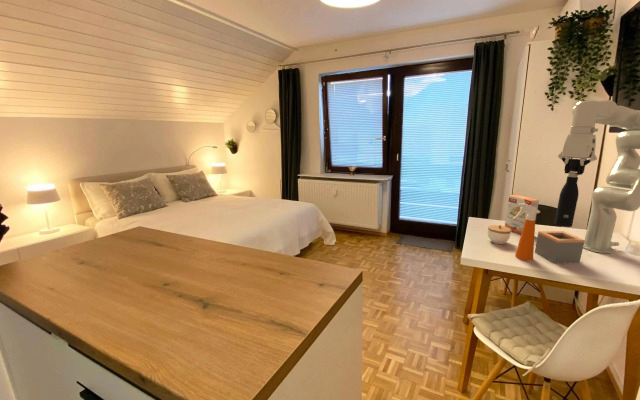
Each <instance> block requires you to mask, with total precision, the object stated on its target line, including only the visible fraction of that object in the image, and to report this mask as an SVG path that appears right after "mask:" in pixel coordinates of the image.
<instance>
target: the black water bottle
mask: <svg viewBox="0 0 640 400" xmlns="http://www.w3.org/2000/svg"><path fill="white" fill-rule="evenodd" d="M578 166H580V158H573V159H570V164H569V167H571V169H570V172H569V173H567V175H568V176H566V182H565V183H564V185H563V187H562V188H561V191H560V193H559V197H558V203H557V207H556V213H555V218H554V225H556V226H559V227H565V228H571V227H573V223H574V218H575V214H576V210H577V204H578V199H579V185H578V180H579V177H578V176H579V175H577V170H578Z"/></svg>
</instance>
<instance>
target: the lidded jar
mask: <svg viewBox="0 0 640 400" xmlns="http://www.w3.org/2000/svg"><path fill="white" fill-rule="evenodd" d="M511 234H512V231H511V229H510V228H508V227H505V225H502V224H491V225H488V227H487V237H488V239H489V240H490V241H491V243H493V244H497V245H504V244H505V243H507V242H508V241H509V239H510V238H511Z"/></svg>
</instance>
